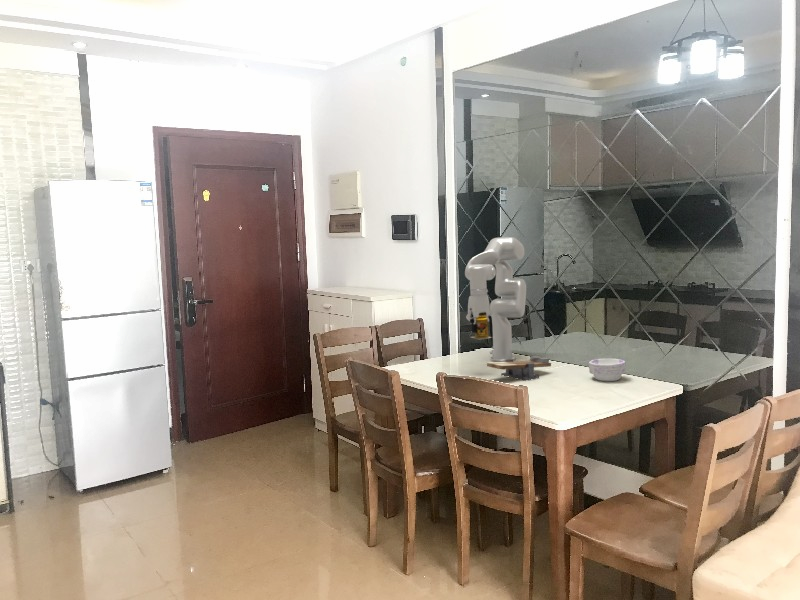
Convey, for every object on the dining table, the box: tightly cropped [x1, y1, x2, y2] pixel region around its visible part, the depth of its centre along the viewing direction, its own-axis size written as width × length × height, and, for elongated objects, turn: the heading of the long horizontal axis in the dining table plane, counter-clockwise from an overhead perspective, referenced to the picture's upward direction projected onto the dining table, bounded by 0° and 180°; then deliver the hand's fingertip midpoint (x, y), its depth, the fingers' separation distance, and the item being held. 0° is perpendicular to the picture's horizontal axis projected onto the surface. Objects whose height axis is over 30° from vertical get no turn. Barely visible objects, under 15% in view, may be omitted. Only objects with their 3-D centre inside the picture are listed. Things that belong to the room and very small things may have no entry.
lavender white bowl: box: [588, 358, 627, 382], centre depth 282 cm, size 15×15×8 cm
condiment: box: [470, 312, 492, 340], centre depth 301 cm, size 7×8×12 cm
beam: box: [486, 355, 552, 371], centre depth 294 cm, size 10×30×4 cm, turn 124°
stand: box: [500, 359, 540, 381], centre depth 295 cm, size 16×8×7 cm, turn 34°
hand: (480, 331), depth 302 cm, fingers closed on condiment, 6 cm apart
